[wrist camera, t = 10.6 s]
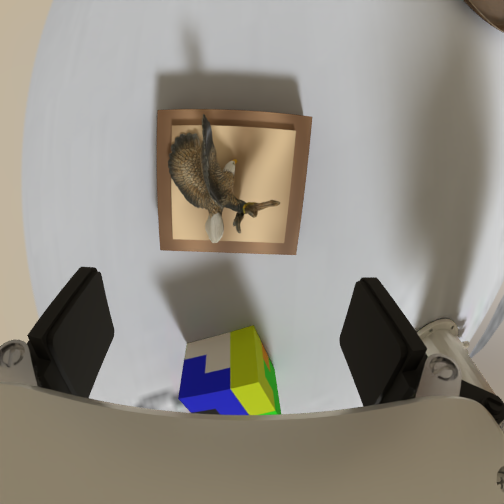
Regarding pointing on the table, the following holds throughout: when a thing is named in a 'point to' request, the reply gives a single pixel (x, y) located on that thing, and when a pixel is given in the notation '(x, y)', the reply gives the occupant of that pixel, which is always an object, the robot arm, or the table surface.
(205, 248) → the walnut tray
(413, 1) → the table surface
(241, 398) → the puzzle toy
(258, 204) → the eagle figurine
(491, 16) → the plant saucer
